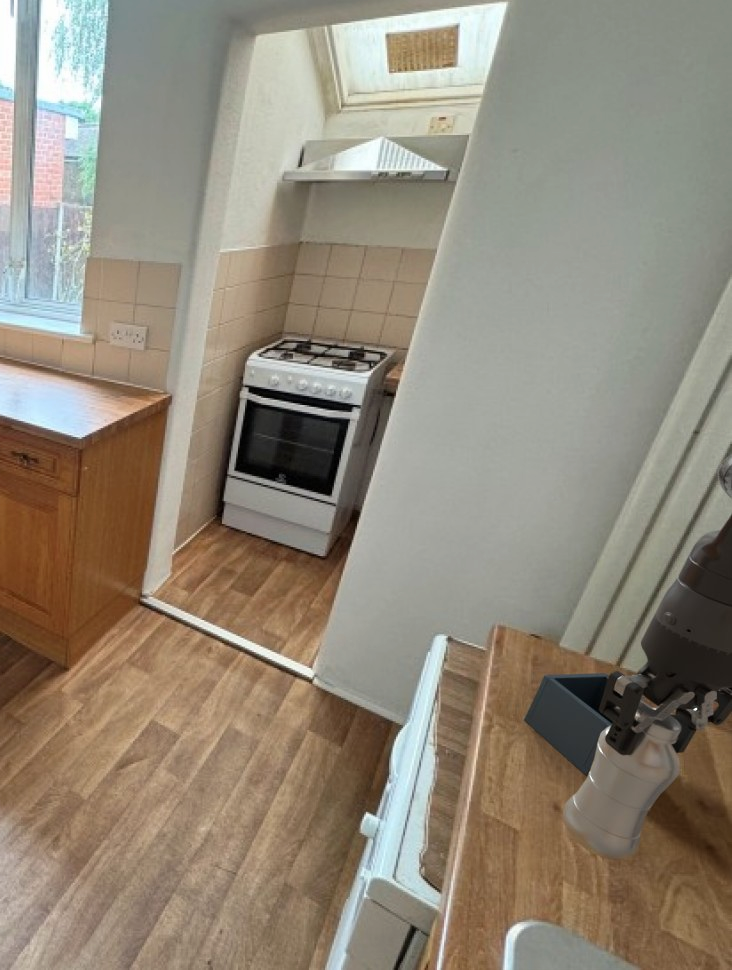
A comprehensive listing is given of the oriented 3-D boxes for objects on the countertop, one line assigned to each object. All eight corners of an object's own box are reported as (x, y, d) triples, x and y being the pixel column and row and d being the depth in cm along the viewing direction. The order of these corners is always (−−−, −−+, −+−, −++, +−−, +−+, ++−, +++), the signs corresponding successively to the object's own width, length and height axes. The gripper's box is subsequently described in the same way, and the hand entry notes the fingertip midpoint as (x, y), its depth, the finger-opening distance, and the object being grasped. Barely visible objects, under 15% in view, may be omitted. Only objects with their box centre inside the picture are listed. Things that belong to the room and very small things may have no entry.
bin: (650, 773, 92) (678, 725, 88) (585, 776, 91) (611, 728, 88) (582, 717, 102) (605, 672, 98) (523, 720, 101) (544, 674, 97)
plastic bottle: (584, 864, 71) (653, 739, 64) (542, 811, 78) (601, 692, 70) (645, 872, 70) (721, 746, 63) (598, 818, 77) (663, 698, 69)
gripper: (686, 655, 58) (618, 780, 64) (820, 650, 59) (741, 774, 65) (606, 607, 65) (552, 723, 71) (728, 603, 66) (664, 719, 72)
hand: (642, 747), depth 68 cm, fingers closed on plastic bottle, 5 cm apart
